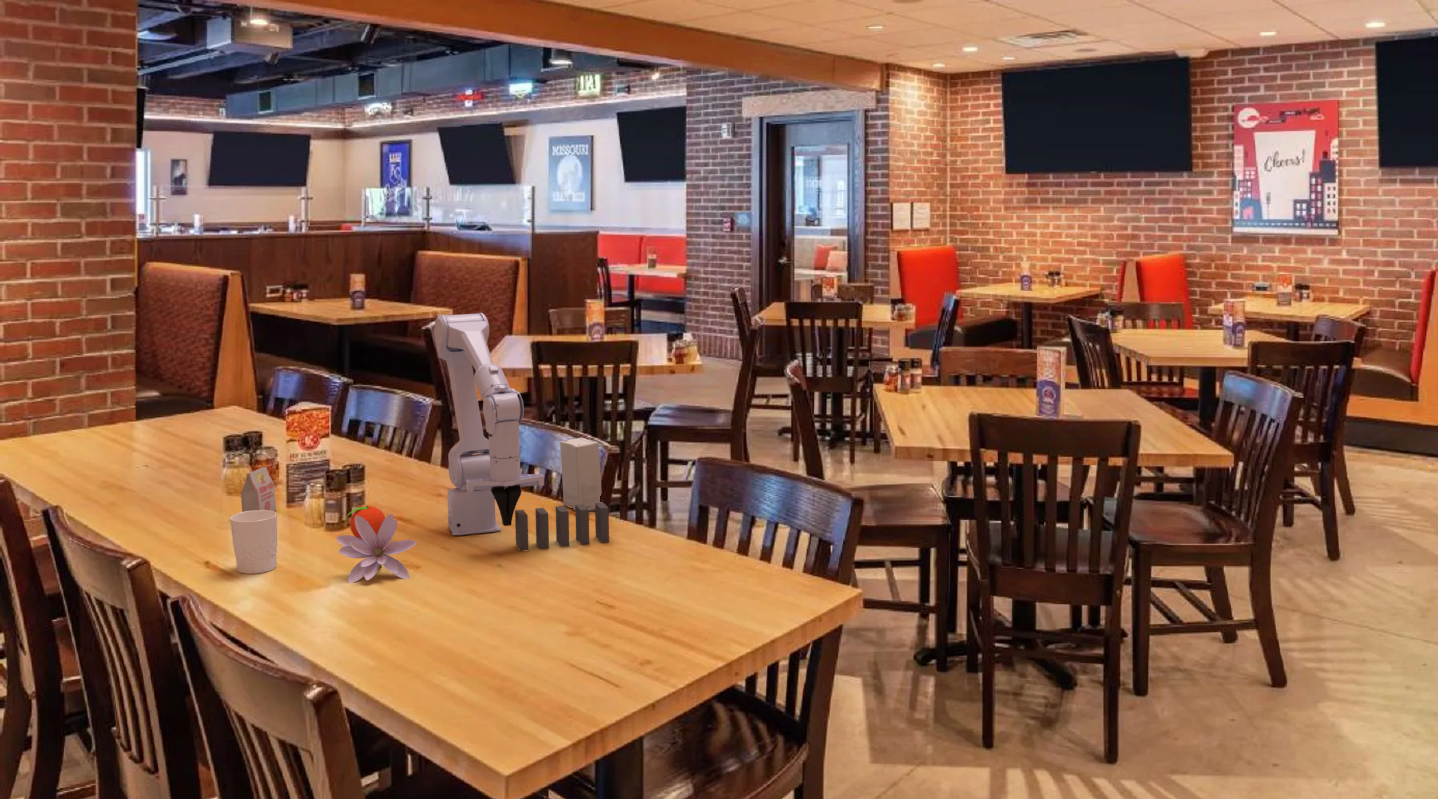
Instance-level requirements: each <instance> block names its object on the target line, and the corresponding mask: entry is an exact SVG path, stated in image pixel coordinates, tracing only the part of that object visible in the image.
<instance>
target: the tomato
mask: <svg viewBox="0 0 1438 799" xmlns="http://www.w3.org/2000/svg"><path fill="white" fill-rule="evenodd" d="M352 513H353V514H352ZM351 514H352V516H351V517H350V522H349V527H350V531H351V533H352V536H354V537H357V538H360V539H362V538H361V536H360V534H359V533H358V531H357V529H356V525H355V516H356V515H357V516H360V517H362V518H364V519H365V520H366V521H367V522H368V523H369V524H370V526H371V527H372V529H373V530H374V532H375V534H376V536H377V534H378V531H379V529H380V527H381V525H382V523H383V521H384V519H385V518H386V516H385V514H384V513H383V511H382V510H380V509H379V508H377V507H376V506H371V505H366V506H361V507H357V508H355V509H353V510H351V511H350V512H349V513H347V515H346V516H345V519H344V523H345V522H346V519H347V517H349V516H350V515H351ZM362 540H363V539H362Z"/></svg>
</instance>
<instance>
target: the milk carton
mask: <svg viewBox="0 0 1438 799" xmlns="http://www.w3.org/2000/svg"><path fill="white" fill-rule="evenodd" d="M267 468H268V467H267V466H262V467H261V468H258V469H256V470H253V471H251V472H248V473H247V474H246V477H245V478H246V479H245V481H244V483H243V486H242V488H241V491H240V499H241V512H245V511H253V510H269V511H274V512H276V513H277V506H276V502H277V501H276V487H275V484H274V481H273V480H272V478H271V476H270V473H269V471H268V469H267Z"/></svg>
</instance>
